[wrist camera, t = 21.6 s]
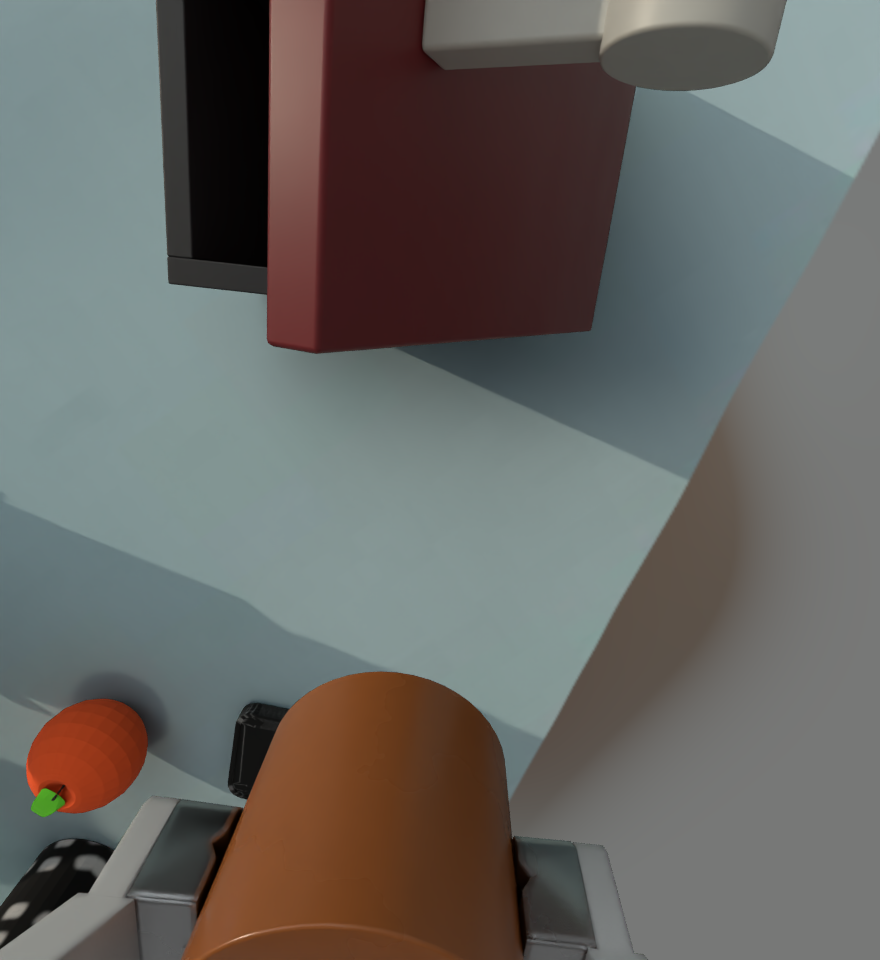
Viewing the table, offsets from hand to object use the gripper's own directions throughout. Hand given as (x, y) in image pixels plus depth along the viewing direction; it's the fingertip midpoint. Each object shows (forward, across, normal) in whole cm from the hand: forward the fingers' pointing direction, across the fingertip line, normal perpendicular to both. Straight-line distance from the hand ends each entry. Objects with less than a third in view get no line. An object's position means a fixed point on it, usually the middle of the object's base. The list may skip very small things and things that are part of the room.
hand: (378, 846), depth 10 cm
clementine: (+26, -21, -24) cm, 41 cm away
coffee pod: (+2, 0, 0) cm, 2 cm away
